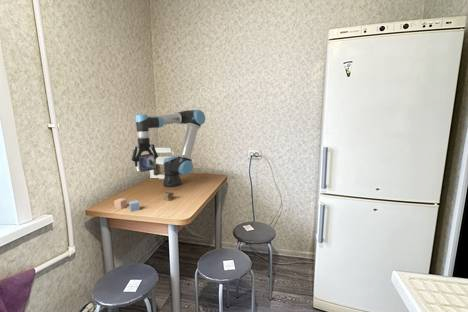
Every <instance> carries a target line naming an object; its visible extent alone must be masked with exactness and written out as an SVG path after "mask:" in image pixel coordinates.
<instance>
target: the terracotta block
mask: <svg viewBox="0 0 468 312" xmlns="http://www.w3.org/2000/svg"><path fill="white" fill-rule="evenodd" d="M113 202H114V203H113V204H114V209H117V210H118V209H119V210H123V209H124V208H126V207H127V206H128V204H127V202H128V201H127V198H118V199H115V200H114V201H113Z"/></svg>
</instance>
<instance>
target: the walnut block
mask: <svg viewBox="0 0 468 312" xmlns="http://www.w3.org/2000/svg"><path fill="white" fill-rule="evenodd" d="M174 194H175V193H174V192H173V191H164V192H162V199H163V201H167V202H170V201H172V200H174V199H175V196H174Z"/></svg>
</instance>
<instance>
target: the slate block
mask: <svg viewBox="0 0 468 312" xmlns="http://www.w3.org/2000/svg"><path fill="white" fill-rule="evenodd" d="M128 203H129V204H128V206H129V211H130V212H137V211H140V202H139V200H137V199H136V200H132V201H129V202H128Z"/></svg>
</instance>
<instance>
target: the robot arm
mask: <svg viewBox="0 0 468 312" xmlns="http://www.w3.org/2000/svg"><path fill="white" fill-rule="evenodd" d="M205 121H206V115H205V113H204V112H203V110H201V109H191V110H189V109H188V110H187V109H186V110H183V111H178V112H177V111H176V112H175V113H170V114H162V115H152V116H151V115H150V116H148V114H136V116H135V125H136V135H137V137H136V138H137V144H138V145H136V146H135V145H134V146H133V151H132V156H131V161H132V162H134V165H135V167H136V171H137V172H140V168H139V162H138V159H139V156H140V155H142V153H144V152H148V154H151V155H154V160H155V163H156V158H158V157H159V155H158V153H157V152H156V150H155V148H156V147H155V144H153V143H151V142H150V140H151V139H150V131H149V129H158V128H163V127H164V126H165V125H172V124H176V125H182V124H183V125H186V126H187V128H186V131H185V135H184V139H183V143H182V147H181V150H180V153H179V155H177V156H176V157H171V156H169V157H170V158H165V159H164V163H163V164H162V165H163V172H164V174H165V177H164V179H163V182H162V186H163V187H165V188H174V187H179V186H181V185H182V179H181V177H180V176H186V175H189V174H191V172H193V169H194V165H193V162H192V160H193V159H192V158H191V157H192V153H193V150H194V145H195V143H196V142H195V141H196V138H197V134H198V131H199V129H201V126H202V125H204V124H205ZM150 143H151V144H150ZM150 148H151V149H150ZM152 151H153V153H154V154H153V153H152Z"/></svg>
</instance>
